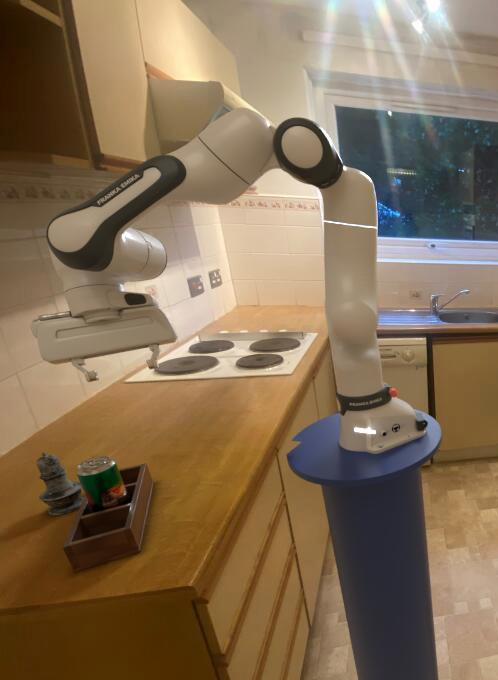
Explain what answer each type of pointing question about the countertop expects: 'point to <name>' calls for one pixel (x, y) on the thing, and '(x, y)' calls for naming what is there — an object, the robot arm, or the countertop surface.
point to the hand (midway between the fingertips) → (124, 374)
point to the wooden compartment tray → (111, 524)
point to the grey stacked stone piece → (58, 486)
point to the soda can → (102, 483)
